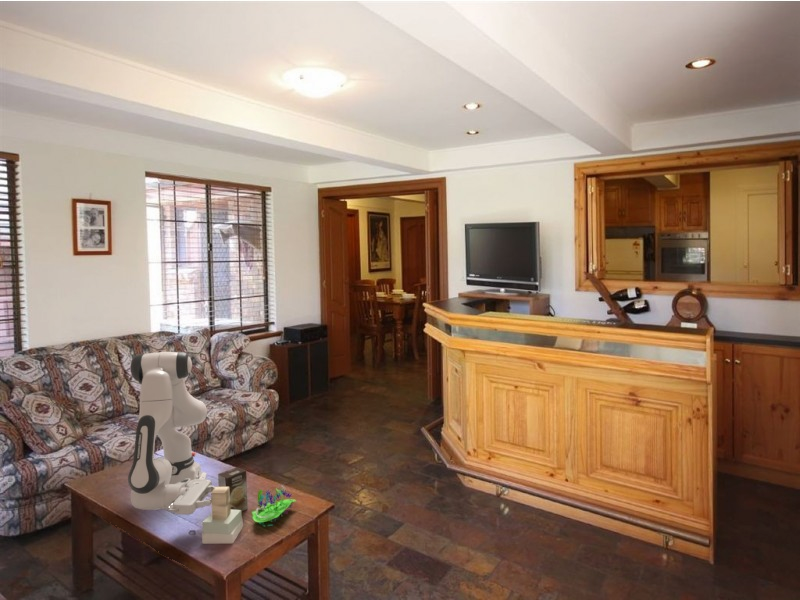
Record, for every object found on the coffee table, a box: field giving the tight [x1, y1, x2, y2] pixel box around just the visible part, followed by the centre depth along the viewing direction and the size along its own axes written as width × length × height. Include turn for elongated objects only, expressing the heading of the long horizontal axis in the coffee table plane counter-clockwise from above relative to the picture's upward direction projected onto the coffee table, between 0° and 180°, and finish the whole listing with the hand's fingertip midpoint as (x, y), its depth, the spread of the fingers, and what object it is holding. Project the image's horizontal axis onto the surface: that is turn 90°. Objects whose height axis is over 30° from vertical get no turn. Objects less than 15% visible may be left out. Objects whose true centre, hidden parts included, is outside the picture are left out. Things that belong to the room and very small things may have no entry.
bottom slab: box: [201, 520, 244, 545], centre depth 197 cm, size 11×11×4 cm
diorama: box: [251, 485, 297, 528], centre depth 208 cm, size 14×20×12 cm
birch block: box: [210, 486, 231, 520], centre depth 195 cm, size 5×5×10 cm
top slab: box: [201, 509, 243, 535], centre depth 196 cm, size 10×10×4 cm
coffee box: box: [217, 466, 249, 513], centre depth 213 cm, size 9×6×16 cm
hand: (215, 496), depth 195 cm, fingers open, 8 cm apart
